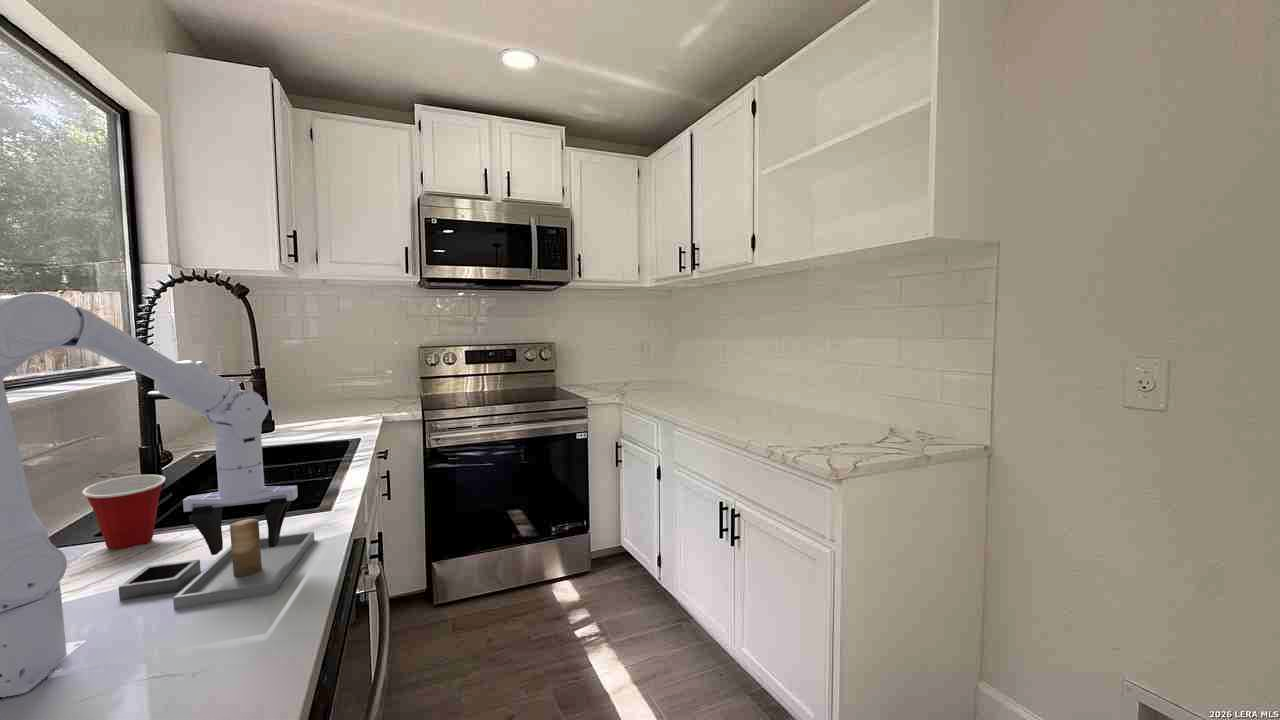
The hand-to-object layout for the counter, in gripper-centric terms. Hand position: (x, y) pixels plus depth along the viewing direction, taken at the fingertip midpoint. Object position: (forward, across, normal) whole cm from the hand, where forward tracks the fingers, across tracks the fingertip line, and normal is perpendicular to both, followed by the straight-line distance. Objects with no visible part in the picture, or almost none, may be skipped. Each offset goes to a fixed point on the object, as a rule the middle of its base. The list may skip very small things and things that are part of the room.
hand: (245, 548), depth 81 cm
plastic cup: (+5, +26, -22) cm, 34 cm away
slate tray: (+5, 0, -1) cm, 5 cm away
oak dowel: (+4, 0, 0) cm, 4 cm away
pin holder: (+5, +11, 0) cm, 12 cm away
